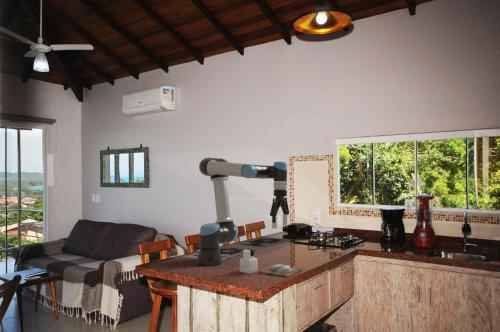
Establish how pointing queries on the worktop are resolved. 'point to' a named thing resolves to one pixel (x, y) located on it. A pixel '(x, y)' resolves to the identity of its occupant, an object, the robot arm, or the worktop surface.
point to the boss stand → (280, 270)
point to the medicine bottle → (248, 262)
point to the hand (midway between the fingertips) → (279, 227)
